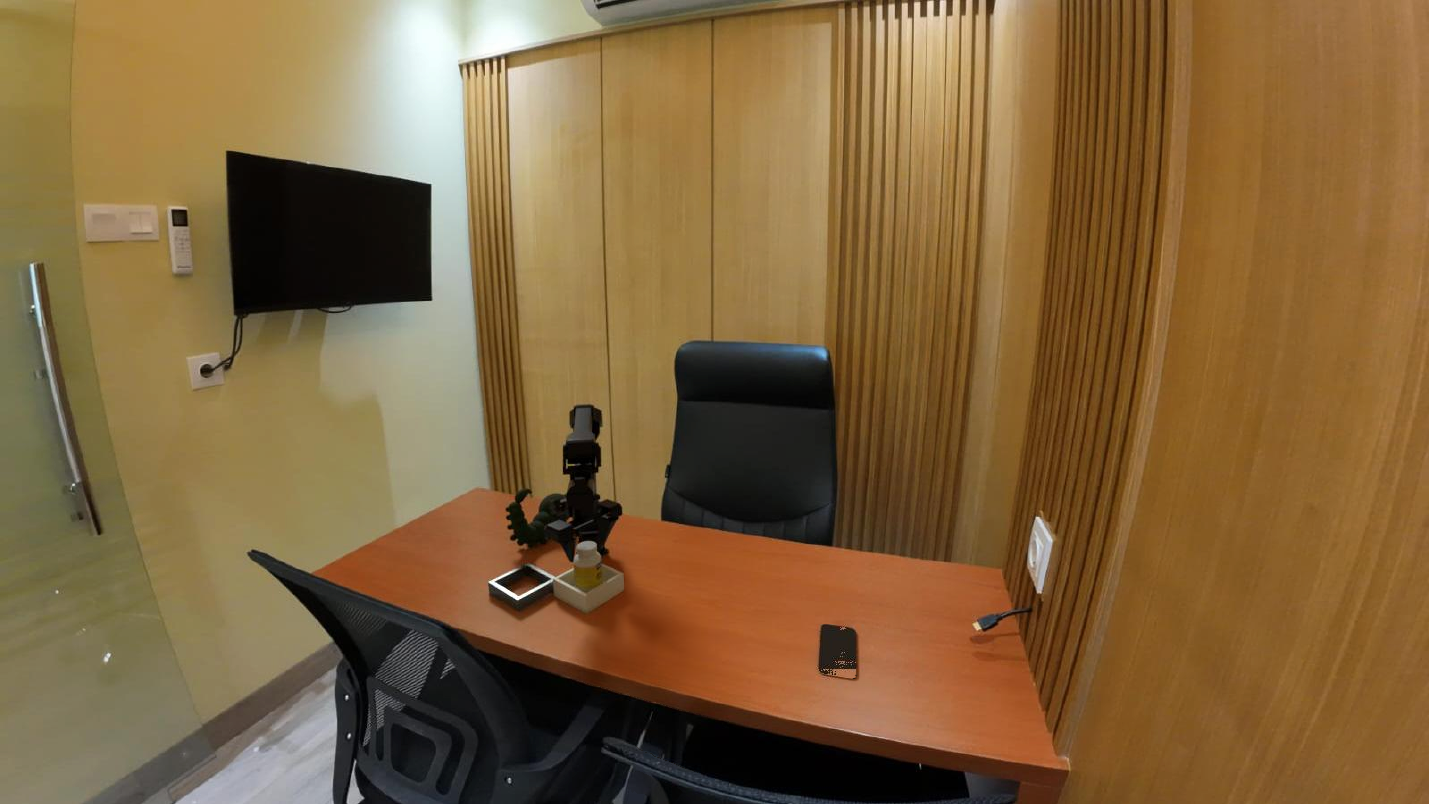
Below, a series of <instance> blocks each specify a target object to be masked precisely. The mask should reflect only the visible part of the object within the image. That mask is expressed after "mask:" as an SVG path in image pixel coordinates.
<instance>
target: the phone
mask: <svg viewBox="0 0 1429 804" xmlns="http://www.w3.org/2000/svg"><path fill="white" fill-rule="evenodd" d="M840 627H841V628H842V627H845V628H846V629H844V630H843V629H842V630H840V629H841V628H840ZM856 632H857V631H856V629H855V628H853V627H849V626H841V625H837V624H827V623H823V624H822V625H820V634H819V649H818V650H819V653H818V668H817V670H818V669H819V671H820V672H822V673H824V674H828V673H829V674H830V671H832V670H833V669H857V670H858V663H857V662H858V661H857V659H856V658H858V657H857V656H858V655H857V633H856ZM842 652H843V653H842ZM844 652H845V653H844ZM841 653H842V654H841ZM856 655H857V656H856ZM840 656H841V657H840ZM842 656H843V657H842ZM835 661H836V662H837V663H836V662H835ZM838 661H845V663H844V664H845V665H844V664H840V663H841V662H839V663H838ZM852 661H853V662H852ZM856 661H857V662H856ZM846 662H847V663H846ZM848 662H849V663H848ZM850 662H852V663H850ZM855 662H856V663H855ZM842 663H843V662H842ZM836 664H837V665H836ZM839 664H840V665H839ZM846 664H847V665H846ZM851 664H852V665H851ZM842 666H843V667H842ZM840 667H841V668H840ZM823 669H829V670H828V671H829V672H828V671H827V670H825V671H824V670H823ZM830 669H832V670H830ZM821 670H822V671H821ZM819 671H818V672H819ZM835 672H836V671H835ZM831 673H832V675H833V671H832V672H831ZM834 675H836V673H835V674H834Z"/></svg>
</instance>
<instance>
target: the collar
mask: <svg viewBox="0 0 1429 804" xmlns="http://www.w3.org/2000/svg"><path fill="white" fill-rule="evenodd" d="M525 577H526V578H527V577H529V578H530V579H532V580H534V581H536V582H538V583H540V584H539V585H538V586H536V587H535V588H532V589H531V590H528V591H527V592H525V593H523V594H521V595H517V594H515V593H514V592H512V591H510V590H509V589H507V588H508V587H510V586H511V585H514V584H515V583H518V582H520V581H522V580H523V578H524V579H525ZM555 577H556V576H555V575H553V574H551V573H549V572H547V571H545V570H543V569H541V568H539V567H537V566H535V565H533V564H531V563H530V562H527V563H524V564H522V565H520V566H519V567H516V568H515V569H512V570H510V571H508V572H505V573H504V574H502V575H500V576H498V577H495V578H494V579H492V580H489V581H488V582H487V585H488V593H489V595H491V596H492V597H495V598H496V599H498V600H499V601H501V602H502V603H504V604H505V605H507V606H509V607H510V608H511V609H514V610H515V611H516V612H521V611H523V610H525V609H527V608H529V607H531V606H532V605H534V604H535V603H538V602H539V601H542V600H543V599H545V598H546V597H548V596H551V594H554V588H553V578H555ZM519 580H520V581H519Z"/></svg>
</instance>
